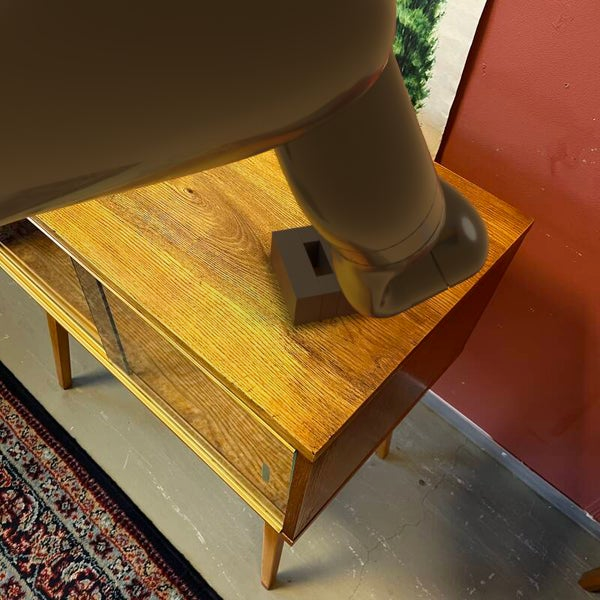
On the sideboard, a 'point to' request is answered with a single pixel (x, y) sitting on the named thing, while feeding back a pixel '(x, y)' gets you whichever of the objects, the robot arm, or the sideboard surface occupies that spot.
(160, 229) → the sideboard surface
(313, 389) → the sideboard surface
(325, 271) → the knife block
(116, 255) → the sideboard surface
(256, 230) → the sideboard surface
